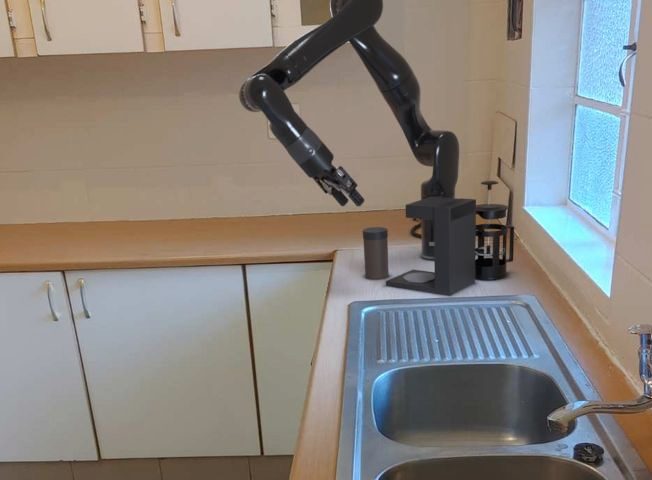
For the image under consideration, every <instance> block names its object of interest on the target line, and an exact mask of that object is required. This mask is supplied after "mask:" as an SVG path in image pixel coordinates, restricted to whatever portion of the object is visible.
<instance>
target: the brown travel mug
mask: <svg viewBox="0 0 652 480" xmlns="http://www.w3.org/2000/svg"><path fill="white" fill-rule="evenodd" d="M388 235H389V232H388V227H383V226H373V227H366V228H364V229H363V230H362V239H363V257H364V258H363V259H364V277H365V278H366V279H368V280H383V279H386V278H388V277H389V276H390V271H389V248H388V247H389V244H388V243H389V242H388V237H389V236H388Z"/></svg>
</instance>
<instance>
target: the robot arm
mask: <svg viewBox="0 0 652 480" xmlns="http://www.w3.org/2000/svg"><path fill="white" fill-rule="evenodd" d="M329 9H330V15H331V18H329V19H328V20H326V21H325V22H323V23H322V24H320V25H318V26H316V27H315V28H313V29H311V30H310V31H307V32H306V33H304V34H303V35H301V36H299V37H298V38H296V39H294V41H292V42H290V43H289V44H288V45H287V46H286V47H285V48H284V49H283V50H281V51H280V52H279V53H278V54H277V55H276V56H275V57H274V58H273V59H272V60H271V61H270V62H268V63H267V64H266V65H265V66H263V67H262V68H260V69H259V70H258V71H256V72H255V73H254V74H252V75H251V76H250V77H248V78H247V79H246V80H245V81H244V82H243V83H242V84H241V85H240V88H239V91H238V99H239V102H240V104H241V106H242V107H243V108H244V109H245V110H246V111H248V112H252V113H260V112H262V113H263V114H264V117H266V119H267V120H268V122H269V130H270V132H271V134H272V135H273V136H274V137H275V138H276V139H277V141H278V142H279V143H280V144H281V145H282V146H283V147H284V149H285V151H287V153H288V155H289V156H290V158H292V160H293V161H294V162H295V163H296V164H297V165H298V167H299V168H300V169H301V170H302V171H303V172H304V173H305V175H306V176H307V177H308V178H310V179H312V180H313V181H314V182H315V184H317V185H318V187H319V188H320V189H321V190H322V191H323V193H325V194H326V195H327V194H328V195H329V196H332V197H333V198H334V199H335V201H336V202H337V203H338V204H339V205H340V206H341V207H345V206H346V205H347V204H348V203H349V199H350V200H351V201H352V202H353V203H354V204H355V206H356V207H361V206H362V205H363V204H364V203H365V198H364V197H363V196H362V195H361V194H360V192H359V191H358V190H357V189H356V188H357V187H358V183H357V182H356V181H355V180H354V179H353V177H352V176H350V174H349V173H348V172H347V171H346V170H345V168H344V167H343V166H342V165H339V166H338V167H336V166H334V165H333V161H334V159H335V157H334V156H335V155H334V153H332V151H331V150H330V149H329V148H328V146H327V145H326V144H325V143H324V142H323V140H322V139H321V138H320V136H318V134H317V133H316V132H315V131H314V130H313V129H312V128H311V127H310V126H309V125H308V124H307V123H306V122H305V121H304V119H303V118H302V117H301V116H300V115H299V114H298V112H296V110H295V108H294V107H293V104H292V102H291V100H290V99H289V97H288V96H287V94H286V92H285V91H286V90H287V89H290V88H291V87H293V86H295V85H297V83H299V82H300V81H301V80H302V79H303V78H304V77H306V76H307V75H308V74H309V73H310V72H311V71H312V70H314V69H315V68H316V67H317V66H318V65H319V64H320V63H321V62H323V61H324V60H325V59H326V58H328V57H329V56H330V55H332V54H333V53H334V52H335V51H337V50H338V49H340V48H341V47H342V46H344V45H345V44H347V43H349V44H350V45H351V47H352V48H353V49H354V51H355V52H356V54H357V55H358V57H359V59H360V60H361V62H362V64H363V65H364V67H365V69H366V70H367V73H369V76H370V77H371V78H372V81H373V82H374V84H375V86H376V88H377V89H378V91H379V93H380V95H381V96H382V98H383V100H384V101H385V103H386V104H387V106H388V107H389V109H390V111H391V113H392V114H393V116H394V118H395V120H396V121H397V123H398V125H399V127H400V128H401V131H402V132H403V134H404V137H405V140H406V141H407V143H408V146H409V148H410V150H411V152H412V154H413V156H414V158H415V160H416V161H417V163H419V164H420V165H422V166H425V167H432V173H431V177H430V178H429V179H426V180H424V181H423V182H421V184H420V200H422V199H426V198H429V197H441V198H456V186H457V184H458V181H459V173H460V172H459V171H460V170H459V169H460V168H459V167H460V142H459V139H458V137H457V135H456V133H454V132H453V131H451V130H438V129H433V128H431V127H430V126H429V124H428V122H427V121H426V119H425V117H424V116H423V113H422V109H421V103H422V102H421V101H422V92H421V84H420V82H419V80H418V77H417V76H416V74H415V73H414V70H413V68H412V67H411V65H410V64H409V62H408V61H407V60H406V58H405V57H404V56H403V55H402V54H401V53H400V51H398V50H397V49H395V47H393V46H392V45H391V44H390V43H389V42H388V41H387V40H386V39H385V38H383V36H382V35H381V34H380V33H379V31H378V29H376V27H375V25H376V24H377V23H378V22H379V21H380V19H381V17H382V14H383V11H384V1H383V0H330V1H329ZM346 195H347V196H346ZM412 220H413V221H417V219H414V218H412ZM419 221H421V222H420V223H417V224H415V225H413V226H412V227H411V229H410V233H411V235H412V236H415V237H417V238H421V255H420V256H421V258H423V259H425V260H433V261H435V259H434V220H425V219H419ZM420 227H421V229H420V231H421V232H420V233H417V232H415V230H416V229H418V228H420Z"/></svg>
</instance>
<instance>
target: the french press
mask: <svg viewBox="0 0 652 480" xmlns="http://www.w3.org/2000/svg"><path fill="white" fill-rule="evenodd" d="M499 183H500V182H499V181H496V180H485V181H481V182H480V184H481V185H483V186H487V191H488V203H484V204H483V203H481V204H476V216H479V217H480V218H481V219H482V220H487V223H479V224H476V237H477V246H476V248H475V256H477V258H475V280H477V281H497V280H502V279H505V278H506V277H507V276H508V272H507V266H508V265H507V263H512V262H514V253H515V252H514V250H515V249H514V247H515V226H514V225H511V224H508V225H506V224H502V223H491V221H490V220H501V219H504V218H506V217H507V210H508V209H509V206H508V205H507V204H499V203H491V191H492V189H493V188H492V187H493V185H494V186H495V185H498V184H499ZM508 229H509V250H508V251H509V252H508V258H507V241H508V235H507V234H508ZM485 230H486V231H485ZM501 237H502V247H501ZM485 238H487V245H485ZM490 238H492V245H491V244H490ZM500 256H502V257H501V258H500Z"/></svg>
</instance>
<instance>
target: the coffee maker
mask: <svg viewBox="0 0 652 480" xmlns="http://www.w3.org/2000/svg"><path fill="white" fill-rule="evenodd" d="M476 205H477V199H476V198H475V199H474V198H461V197H460V198H457V197H455V198H441V197H429V198H426V199H422V200H421V199H420V200H416V201H413V202H410V203H407V204H405V219H416V220H420V219H425V220H434V259H435V260H434V271H427V270H420V269H411V270H408V271H406V272H404V273H401V274H399V275H396V276H394V277H391V278H390V279H387V280H386V281H385V286H386V287H391V288H398V289H405V290H410V291H411V290H412V291H417V292H425V293H431V294H436V295H443V296H448V297H449V296H453V294H456V293H457V292H459V291H462V290H464V289H466V288H467V287H470V286H471V285H473V284H475V283H476V279H475V259H476V255H475V248H476V247H477V246H476V245H477V244H476V242H477V240H476V239H477V238H476V237H477V236H476V231H477V230H476V225H477V215H476Z"/></svg>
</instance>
